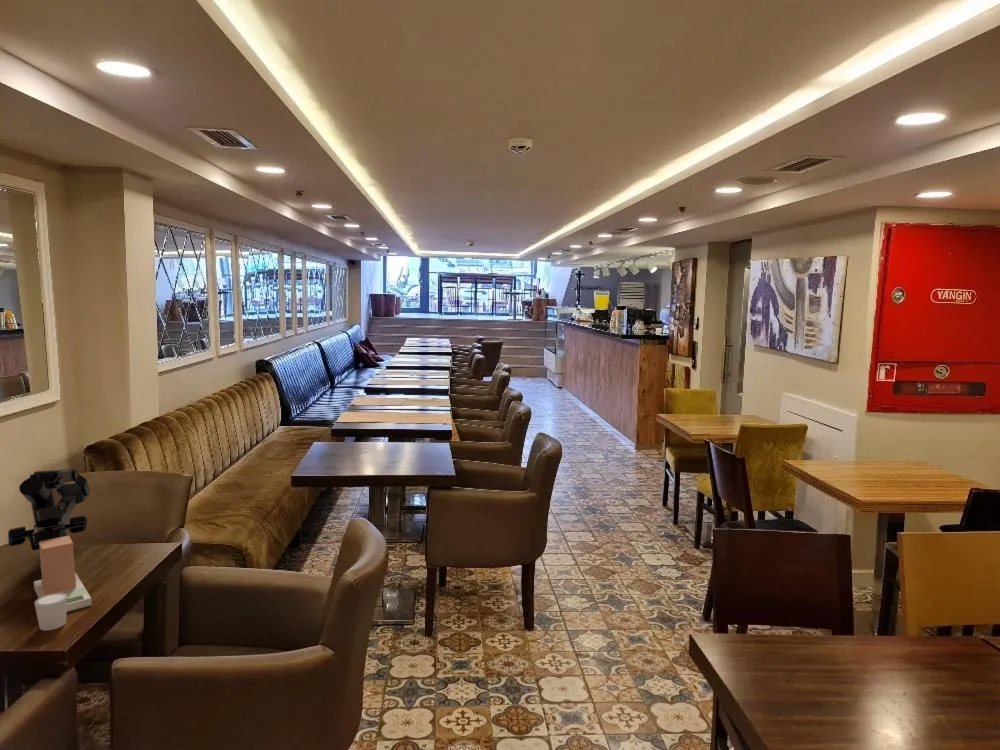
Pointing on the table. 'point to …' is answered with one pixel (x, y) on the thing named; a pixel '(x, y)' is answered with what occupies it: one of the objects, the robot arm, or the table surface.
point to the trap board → (69, 594)
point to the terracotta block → (57, 564)
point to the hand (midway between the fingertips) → (53, 556)
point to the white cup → (51, 611)
